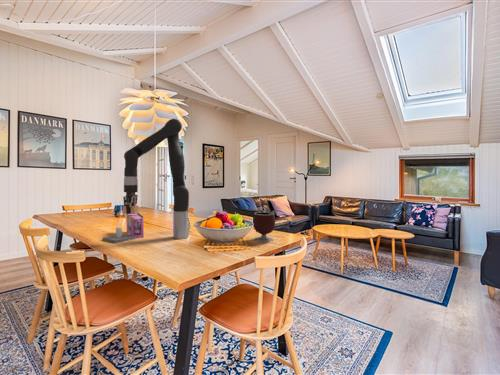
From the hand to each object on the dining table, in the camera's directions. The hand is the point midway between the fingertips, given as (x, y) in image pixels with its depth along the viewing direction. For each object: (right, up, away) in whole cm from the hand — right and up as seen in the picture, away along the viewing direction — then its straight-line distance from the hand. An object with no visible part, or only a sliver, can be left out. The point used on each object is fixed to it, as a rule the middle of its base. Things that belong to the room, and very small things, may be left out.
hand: (130, 212), depth 162 cm
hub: (0, 0, 0) cm, 1 cm away
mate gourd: (+80, -19, +12) cm, 83 cm away
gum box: (-6, -17, +21) cm, 28 cm away
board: (-10, -17, +7) cm, 21 cm away
